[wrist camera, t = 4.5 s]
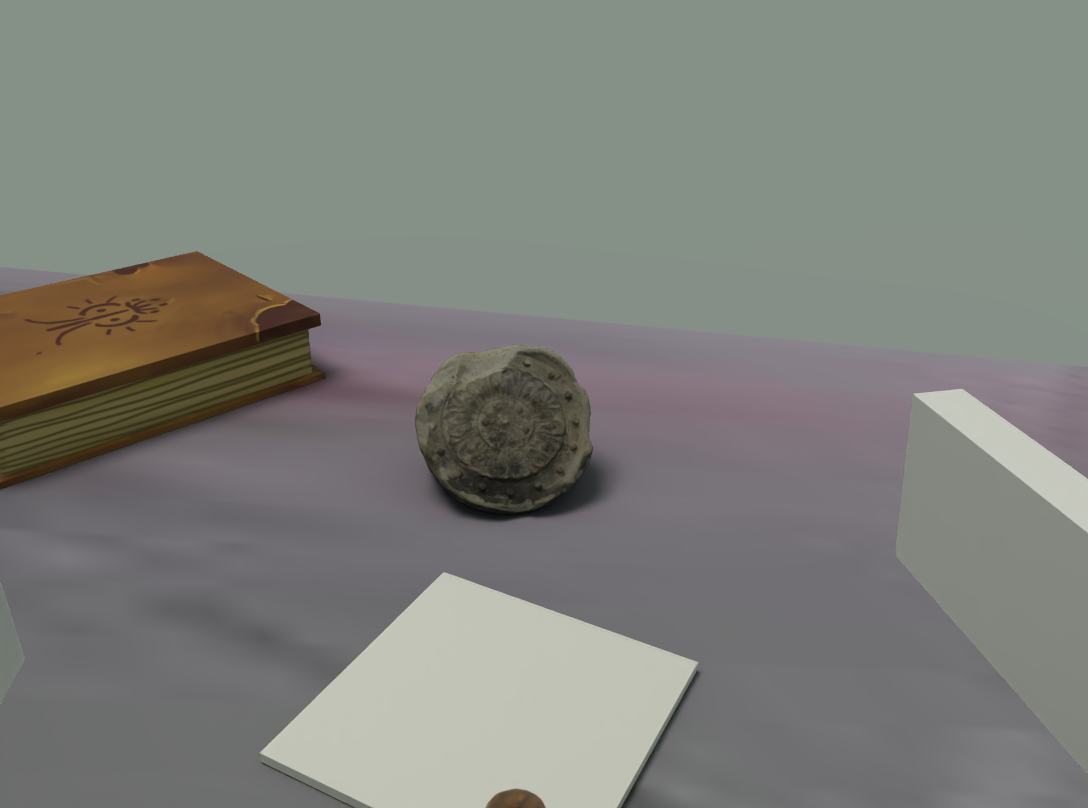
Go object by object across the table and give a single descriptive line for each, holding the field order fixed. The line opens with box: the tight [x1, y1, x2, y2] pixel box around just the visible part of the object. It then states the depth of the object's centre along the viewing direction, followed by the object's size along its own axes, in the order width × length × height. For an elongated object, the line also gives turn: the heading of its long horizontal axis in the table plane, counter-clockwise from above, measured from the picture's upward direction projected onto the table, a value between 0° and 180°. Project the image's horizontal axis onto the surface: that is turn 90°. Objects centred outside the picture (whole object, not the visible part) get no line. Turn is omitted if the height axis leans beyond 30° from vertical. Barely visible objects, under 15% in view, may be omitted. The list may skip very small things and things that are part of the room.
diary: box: [0, 251, 325, 489], centre depth 71 cm, size 23×19×6 cm
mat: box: [260, 572, 698, 808], centre depth 44 cm, size 14×14×1 cm
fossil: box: [415, 345, 593, 514], centre depth 61 cm, size 11×9×10 cm
